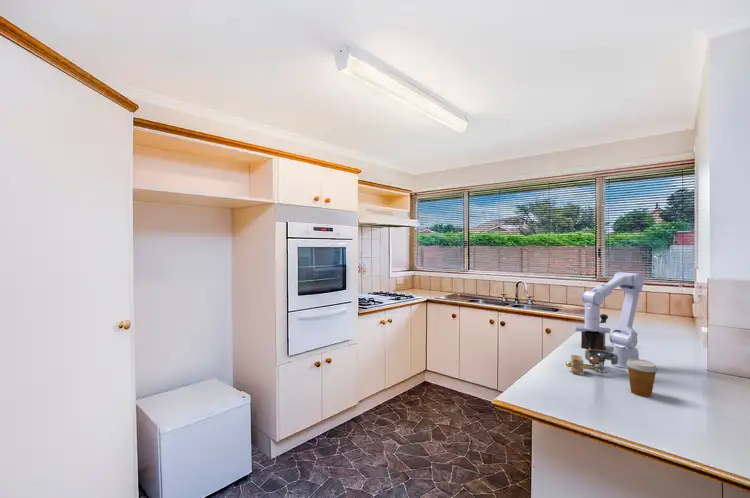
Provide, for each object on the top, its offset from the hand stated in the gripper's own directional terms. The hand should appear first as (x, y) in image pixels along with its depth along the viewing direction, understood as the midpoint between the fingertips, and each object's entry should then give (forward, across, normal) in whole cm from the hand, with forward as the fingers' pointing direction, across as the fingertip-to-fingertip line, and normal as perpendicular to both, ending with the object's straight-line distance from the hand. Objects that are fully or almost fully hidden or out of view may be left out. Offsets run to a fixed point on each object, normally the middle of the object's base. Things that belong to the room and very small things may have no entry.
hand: (591, 348), depth 156 cm
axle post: (+10, -5, -2) cm, 12 cm away
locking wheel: (+6, -6, -3) cm, 9 cm away
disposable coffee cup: (+11, -8, +22) cm, 26 cm away
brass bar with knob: (+9, +5, +3) cm, 10 cm away
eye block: (+11, +7, +2) cm, 13 cm away
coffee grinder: (+11, -19, -40) cm, 46 cm away
